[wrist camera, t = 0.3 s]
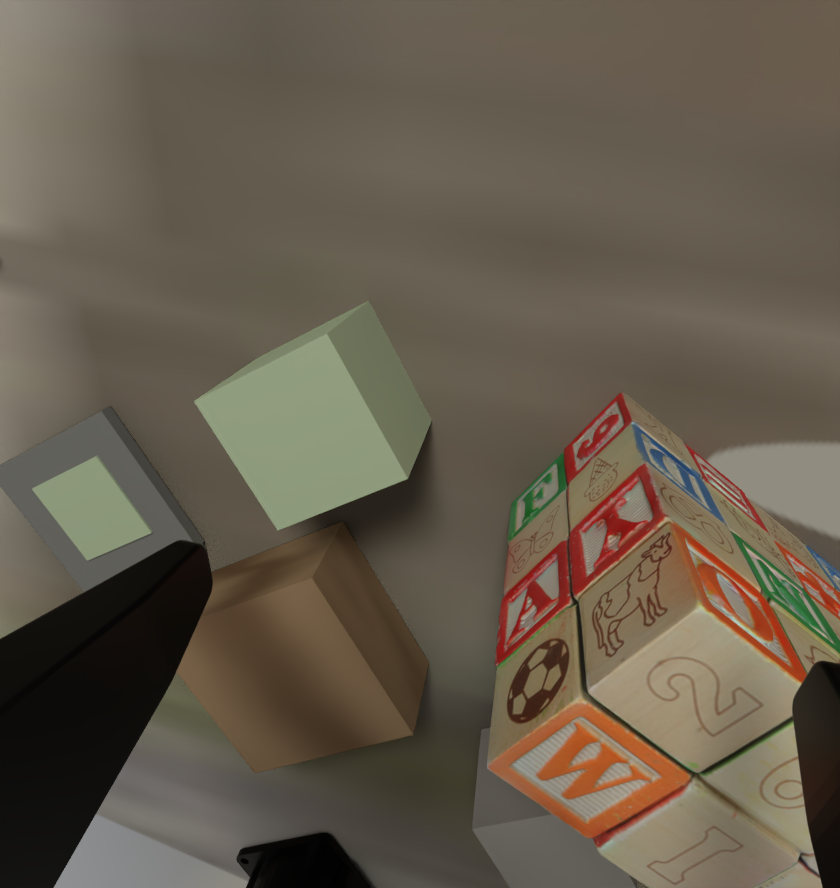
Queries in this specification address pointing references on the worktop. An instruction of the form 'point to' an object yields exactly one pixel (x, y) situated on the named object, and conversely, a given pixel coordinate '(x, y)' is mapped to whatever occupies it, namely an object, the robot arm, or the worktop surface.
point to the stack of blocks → (660, 660)
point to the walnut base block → (304, 654)
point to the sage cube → (320, 418)
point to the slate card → (95, 499)
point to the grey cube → (535, 839)
